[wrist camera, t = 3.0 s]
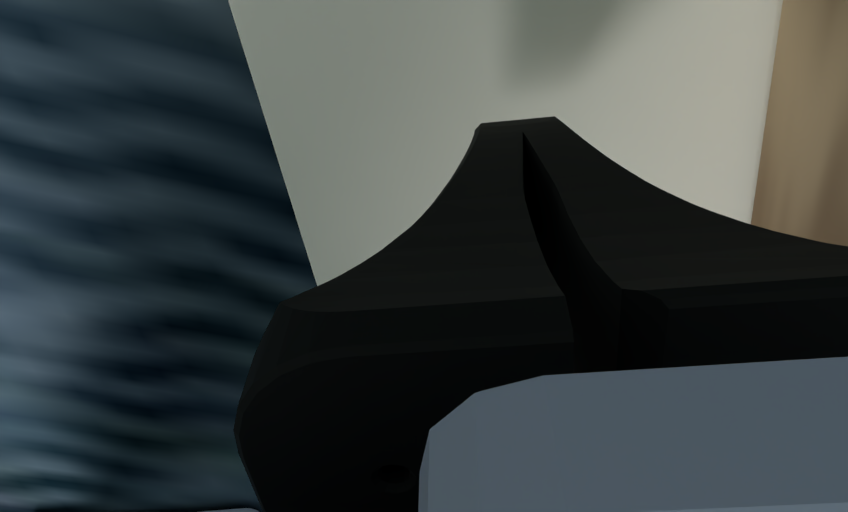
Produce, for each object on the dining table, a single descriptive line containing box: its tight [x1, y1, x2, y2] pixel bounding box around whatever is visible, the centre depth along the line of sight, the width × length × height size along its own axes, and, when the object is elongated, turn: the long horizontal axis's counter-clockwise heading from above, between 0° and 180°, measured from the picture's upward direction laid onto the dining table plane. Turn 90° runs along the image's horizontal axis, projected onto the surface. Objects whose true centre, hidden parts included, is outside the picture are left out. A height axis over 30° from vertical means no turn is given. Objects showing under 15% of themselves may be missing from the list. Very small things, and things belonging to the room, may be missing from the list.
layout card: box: [228, 0, 783, 286], centre depth 18 cm, size 26×24×1 cm
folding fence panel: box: [751, 0, 848, 246], centre depth 12 cm, size 10×1×5 cm, turn 9°
